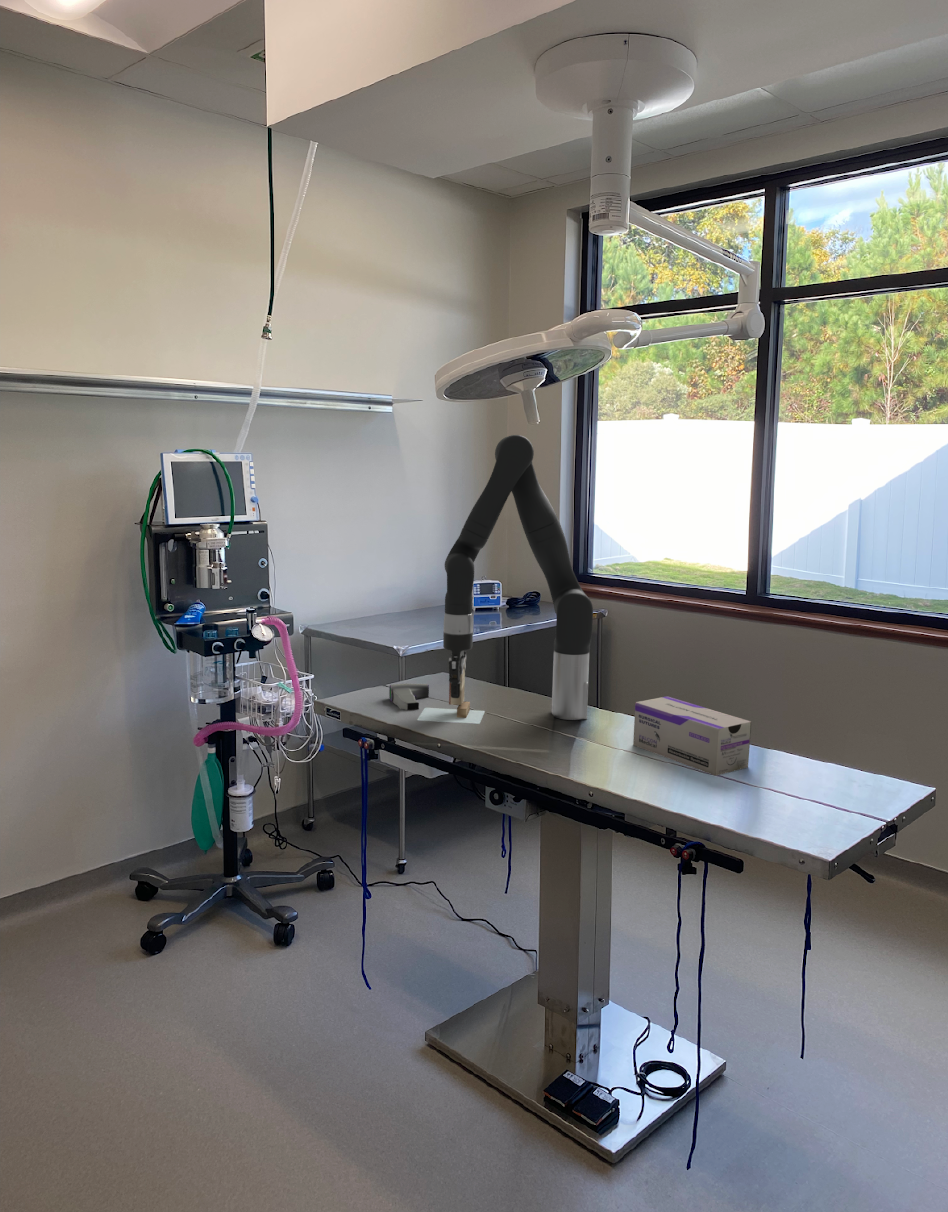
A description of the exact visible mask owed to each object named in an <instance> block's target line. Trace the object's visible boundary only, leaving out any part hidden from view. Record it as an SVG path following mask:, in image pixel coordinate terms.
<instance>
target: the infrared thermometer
mask: <svg viewBox="0 0 948 1212" xmlns="http://www.w3.org/2000/svg"><path fill="white" fill-rule="evenodd" d="M388 688H389V693H388V694H389V696H388V697H389V698H388V699H389V700H390V702H391V703H393V704H394V705H396V706H397V707H398V708H399V709H400V710H402V709H403V710H406V711H412V710H413V711H414V710H419V709H420V703H419V701H417V700H418V699H423V698H424V699H425V698H429V695H430V693H429V692H430V691H429V690H430V685H429V684H428V683H395V684H389V687H388Z"/></svg>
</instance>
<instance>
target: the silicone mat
mask: <svg viewBox="0 0 948 1212" xmlns="http://www.w3.org/2000/svg"><path fill="white" fill-rule="evenodd" d="M485 713H486V712H485V710H475V709H474V710H473V709H470V711H469V713H468V715H467V717H466V718H458V717H457V708H456V709H455V708H438V707H437V708H436V707H424V709H423V710H422V711H421V713H420V714H419V716H418V718H417V719H416V721H421V722H435V723H436V722H439V723H455V724H456V723H457V724H474V725H480V724H481V721H482V719H483V717H484V714H485Z"/></svg>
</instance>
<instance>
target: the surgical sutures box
mask: <svg viewBox="0 0 948 1212" xmlns="http://www.w3.org/2000/svg"><path fill="white" fill-rule="evenodd" d="M633 721H634V722H633V723H634V724H633V741H632V745H633V746H635V747H638V748H639V749H643V750H645V751H648V752H651V753H654V754H656V755H658V756H661V757H664V758H667V759H670V760H671V761H675V762H677V763H680V764H683V765H685V766H688V767H691V768H694V769H697V770H699V771H702V772H704V773H707V774H709V775H711V776H712V775H713V776H715V777H716V776H717V777H718V776H721V775H724V774H727V773H731V772H732V773H733V772H736V771H739V770H743V769H748V768H749V760H750V759H749V758H750V746H751V733H752V721H751V720H748V719H744V718H741V717H737V716H735V715H730V714H727V713H723V712H720V711H717V710H713V709H711V708H707V707H704V706H701V705H698V704H695V703H691V702H688V701H684V700H681V699H677V698H674V697H671V696H668V695H667V696H662V697H656V698H651V699H645V700H640V701H635V705H634V720H633Z"/></svg>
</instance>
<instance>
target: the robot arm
mask: <svg viewBox="0 0 948 1212" xmlns="http://www.w3.org/2000/svg"><path fill="white" fill-rule="evenodd" d="M534 453H535V450H534V447H533V444H532V442H531V440H530V439H528V438H527V437H526V436H523V435H520V434H511V435H508V436H506V437H503V438H502V439H501V440H499V441H498V443H497V444H496V446H495V451H494V459H495V463H494V467H493V470H492V472H491V475H490V477H489V480H488V481H487V483H486V485H485V487H484V489H483V491H482V492H481V494H480V495H479V497H478V499H477V500H476V501H475V503H474V506H473V507H472V508H471V510H470V512H469V515H468V516H467V518H466V520H465V523H464V525H463V526H462V529H461V531H460V534H459V536H458V537H457V539H456V540H455V542H454V544H453V546H452V547H451V548H450V551H449V552H448V554H447V556H446V558H445V560H444V561H445V562H444V570H445V572H446V593H445V597H444V615H443V616H444V618H443V642H442V646H443V649H445V650H446V651H451V654H450V656H449V657H448V674H449V675H448V682H449V683H451V697H452V698H459V697H460V683H461V681H460V676H461V675H462V674H463V669H464V670H465V671H466V662H467V651H470V650H472V649H473V646H474V645H473V642H474V641H473V640H474V639H473V637H474V619H473V618H474V617H473V588H474V584H475V583H474V581H475V564H474V563H475V561H476V559H477V557H478V555H479V552H480V550H482V549H484V547H485V545H486V544H487V542H488V540H489V539H490V536H491V534H492V532H493V530H494V528H495V525H496V523H497V521H498V519H499V517H500V516H501V513H502V511H503V508H504V506H505V504H506V503H507V500H508V498H509V496H510V494H511V493H512V496H513V499H514V502H515V507H516V511H517V514H518V517H519V520H520V523H521V527H522V530H523V531H524V532H523V533H524V534H525V537H526V539H527V543H528V545H529V547H530V550H531V551H532V554H533V556H534V558H535V560H536V562H537V564H538V566H539V567H540V570H541V571H542V573H543V575H544V578H545V580H546V582H547V585H548V586H547V587H548V589H549V593H550V596H551V597H550V598H551V599H552V600H551V601H552V604H553V608H554V609H553V610H554V612H555V614H556V622H555V623H556V625H555V637H554V638H555V639H554V642H553V663H552V689H551V691H552V692H551V714H552V716H553V717H554V718H556V719H561V720H565V721H567V720H568V721H578V720H588V698H589V672H590V671H589V670H590V651H591V650H590V649H591V644H592V636H593V621H594V619H593V618H594V609H593V608H594V607H593V603H592V601H591V599H590V597H588V596H587V594H586V593H585V592H584V590H583V588H582V587H581V585H580V583H579V581H578V578H577V576H576V574H575V571H574V570H573V568H572V567H573V566H572V563H571V559H570V553H569V548H568V545H567V544H568V543H567V541H566V537H565V534H564V530H563V528H562V525H561V523H560V520H559V518H558V515H557V513H556V511H555V509H554V508H553V505H552V504H551V502H550V499H549V498H548V497H547V495H546V493H545V492H544V490H543V488H542V487H541V485H540V482H539V480H538V477H537V474H536V471H535V468H534V464H533V460H534V457H535V454H534ZM459 670H460V671H459ZM453 675H457V678H453ZM449 683H448V684H449Z"/></svg>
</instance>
